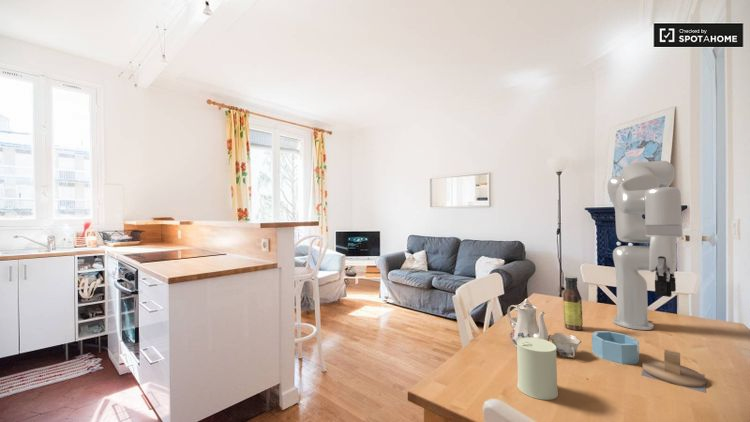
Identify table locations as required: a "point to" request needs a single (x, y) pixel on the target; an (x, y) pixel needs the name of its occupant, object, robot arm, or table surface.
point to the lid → (674, 371)
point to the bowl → (615, 347)
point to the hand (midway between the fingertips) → (665, 293)
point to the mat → (679, 385)
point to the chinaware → (539, 329)
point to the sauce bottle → (572, 305)
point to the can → (537, 368)
